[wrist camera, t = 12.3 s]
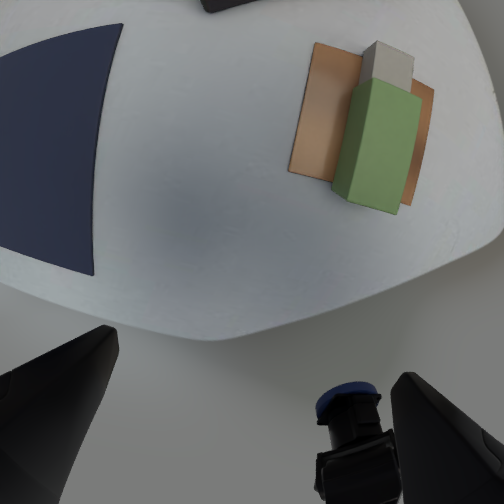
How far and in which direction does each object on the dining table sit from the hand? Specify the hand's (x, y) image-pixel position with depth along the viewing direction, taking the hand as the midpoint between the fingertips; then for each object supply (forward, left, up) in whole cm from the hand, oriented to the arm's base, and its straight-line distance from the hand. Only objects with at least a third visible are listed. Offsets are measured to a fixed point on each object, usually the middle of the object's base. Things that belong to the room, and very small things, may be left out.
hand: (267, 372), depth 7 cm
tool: (+9, -5, -12) cm, 16 cm away
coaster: (+9, -5, -12) cm, 16 cm away
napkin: (+4, +24, -12) cm, 27 cm away
